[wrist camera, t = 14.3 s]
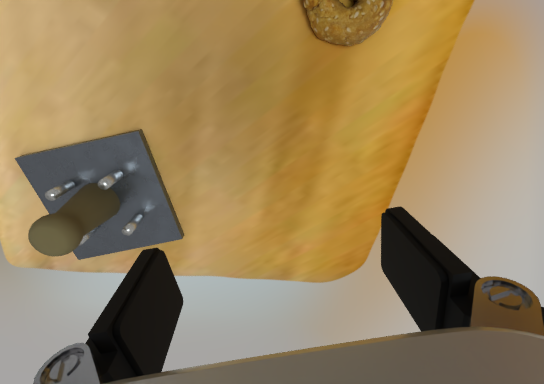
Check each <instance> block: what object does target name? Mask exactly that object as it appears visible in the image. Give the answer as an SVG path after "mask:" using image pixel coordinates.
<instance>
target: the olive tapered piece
mask: <svg viewBox="0 0 544 384" xmlns="http://www.w3.org/2000/svg"><path fill="white" fill-rule="evenodd" d="M119 209H120V201H119V198H118V196H117V194H116V193H115V192H114V191H113V190H112V189H111V188H108V189H106V190H103V189H101V188H99V186H98V183H90V184H87V185H85V186H83V187H82V188H81V189H80V190H79V191H78V192H77V193H76V194H75V195H74V196H73V197H71V198H70V199H69V200H68V201H67V202H66V203H65V204H64V205H63V206H62V207H61V208H60V209H59V210H58V211H57V212H56V213H53V214H49V215H46V216H43V217H41V218H39V219H38V220H37V221H35V222H34V223H33V224H32V226H31V228H30V230H29V241H30V243H31V245H32V246H33V247H34V248H35V249H36V250H37V251H39V252H40V253H43V254H45V255H48V256H62V255H66V254H68V253H70V252H72V251H73V250H75V249H76V248H77V247H78V246H79V244H80V243H81V241H82V239H83V236H84V235H86V234H87V233H89V232H90V231H92V230H93V229H95V228H96V227H98V226H99V225H101V224H102V223H104V222H106V221H107V220H109V219H110V218H112V217H113V216H114V215H116V214H117V213H118V211H119Z"/></svg>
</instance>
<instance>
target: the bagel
mask: <svg viewBox="0 0 544 384" xmlns="http://www.w3.org/2000/svg"><path fill="white" fill-rule="evenodd" d="M303 1H304V7H305V8H307V16H308V18H309V21H310V24H311V28H312V29H313V31H314V32H315V35H316V36H317V37H318V38H319V39H321V40H325V41H327V42H330V43H333V44H340V45H344V46H351V45H354V44H359V43H361V42H363V41H364V40H365V39H367V38H368V37H369V36H371V35H372V34H374V33H375V32H376V31H377V30H378V29H379V28H380V27H381V24H382V23H383V22H384V20H385V19H386V17H387V16H388V14H389V11H390V9H391V6H392V3H393V0H355V1H356V3H355V4H354V6H353V7H348V8H347V7H345V6H344V4H343V3H341V2H340V1H339V0H303Z"/></svg>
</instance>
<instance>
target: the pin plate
mask: <svg viewBox="0 0 544 384" xmlns="http://www.w3.org/2000/svg"><path fill="white" fill-rule="evenodd" d="M15 160H16V161H17V163H18V164H19V166H20V168H21V169H22V171H23V172H24V174H25V176H26V177H27V179H28V180H29V182H30V184H31V185H32V187H33V188H34V190H35V192H36V193H37V195H38V196H39V198H40V199H41V201H42V203H43V204H44V206H45V207H46V209H47V211H48V212H49V214H53V213H56V212H57V211H58V210H59V209H60V208H61V207H62V206H63V205H64V204H65V203H66V202H67V201H68V200H69V199H70V198H71V197H73V196H74V195H75V194H76V193H77V192H78V191H79V190H80V189H81V188H82V187H83V186H85V185H87V184H90V183H98V186H99V188H101V189H103V190H106V189H108V188H111V189H112V190H113V191H114V192H115V193H116V194H117V196H118V198H119V201H120V209H119V211H118V213H117V214H116V215H114V216H113V217H112V218H110V219H109V220H107V221H106V222H104V223H102V224H101V225H99V226H98V227H96V228H95V229H93V230H92V231H90V232H89V233H87V234H86V235H84V236H83V239H82V241H81V243H80V244H79V246H78V247H77V248H76V249H75V250H73V252H74V254H75V255H76V257H77V259H78V260H80V259H85V258H90V257H95V256H100V255H105V254H110V253H115V252H120V251H125V250H130V249H135V248H140V247H145V246H150V245H154V244H159V243H164V242H169V241H174V240H179V239H182V238H183V236H184V233H183V231H182V228H181V226H180V223H179V221H178V218H177V216H176V213H175V211H174V208H173V206H172V203H171V201H170V198H169V196H168V193H167V191H166V189H165V186H164V184H163V181H162V179H161V176H160V174H159V171H158V169H157V166H156V164H155V161H154V159H153V156H152V154H151V151H150V149H149V146H148V144H147V141H146V139H145V136H144V134H143V131H142V130H137V131H133V132H128V133H124V134H119V135H114V136H110V137H105V138H101V139H96V140H92V141H87V142H82V143H78V144H73V145H69V146H64V147H60V148H55V149H50V150H46V151H41V152H37V153H32V154H28V155H23V156H20V157H17V158H15Z"/></svg>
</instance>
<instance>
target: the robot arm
mask: <svg viewBox="0 0 544 384" xmlns="http://www.w3.org/2000/svg"><path fill="white" fill-rule="evenodd" d="M381 266H382V270H383V272H384V274H385V275H386V277H387V278H388V280H389V281H390V283H391V285H392V286H393V288H394V289H395V291H396V292H397V294H398V296H399V297H400V299H401V300H402V302H403V303H404V305H405V307H406V308H407V310H408V311H409V313H410V314H411V316H412V318H413V319H414V321H415V322H416V324H417V325H418V327H419V329H420V330H421V332H415V333H407V334H400V335H392V336H386V337H380V338H372V339H366V340H359V341H353V342H346V343H340V344H333V345H327V346H320V347H314V348H308V349H302V350H295V351H288V352H282V353H276V354H270V355H263V356H257V357H251V358H245V359H238V360H232V361H226V362H220V363H214V364H208V365H202V366H196V367H190V368H184V369H178V370H172V371H166V372H161V371H162V368H163V365H164V361H165V358H166V355H167V352H168V349H169V346H170V343H171V340H172V337H173V334H174V331H175V327H176V324H177V321H178V318H179V315H180V312H181V309H182V306H183V297H182V294H181V292H180V290H179V287H178V285H177V282H176V280H175V277H174V275H173V272H172V270H171V267H170V265H169V262H168V260H167V258H166V255H165V253H164V251H162V250H161V251H160V249H158V248H152V249H146V250H143V251H142V252H141V253H140V255H139V256H138V258H137V259H136V261H135V263H134V264H133V266H132V267H131V269H130V270H129V272H128V273H127V275H126V276H125V278H124V279H123V281H122V283H121V284H120V286H119V287H118V289H117V290H116V292H115V293H114V295H113V297H112V298H111V300H110V301H109V303H108V304H107V306H106V307H105V309H104V310H103V312H102V313H101V315H100V317H99V318H98V320H97V321H96V323H95V324H94V326H93V327H92V329H91V331H90V332H89V333H88V336H89V339H88V340H87V342H86V343H85V344H84V343H76V344H73V345H70V346H67V347H66V348H64V349H62V350H60V351H59V352H57V353H56V354H54V355H53V356H52V357H51V358H50V359H49V360H48V361H46V362H45V363H44V365H43V366H42V367H41V368H40V369H39V371H38V373H37V375H36V377H35V378H34V383H33V384H544V307H541V304H540V302H539V299H538V297H537V296H536V295H535V294H534V293H533V292H532V291H531V290H530V289H528V288H527V287H525V286H523V285H522V284H520V283H517V282H516V281H513V280H510V279H507V278H502V277H484V278H480V277H479V276H477V275H476V274H475V273H474V272H473V271H472V270H471V269H470V268H469V267H468V266H467V265H466V264H464V263H463V262H462V261H461V260H460V259H459V258H458V257H457V256H456V255H455V254H454V253H452V252H451V251H450V250H449V249H448V248H447V247H446V246H445V245H444V244H443V243H441V242H440V241H439V240H438V239H437V238H436V237H435V236H433V235H432V234H430V232H429V231H428V230H426V229H425V228H424V227H423V226H422V225H421V224H420V223H419V222H418V221H417V220H416V219H414V218H413V217H412V216H411V215H410V214H409V213H408V212H407V211H406V210H405V209H404V208H402V207H395V208H389V209H386V211H385V213H382V219H381Z"/></svg>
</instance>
